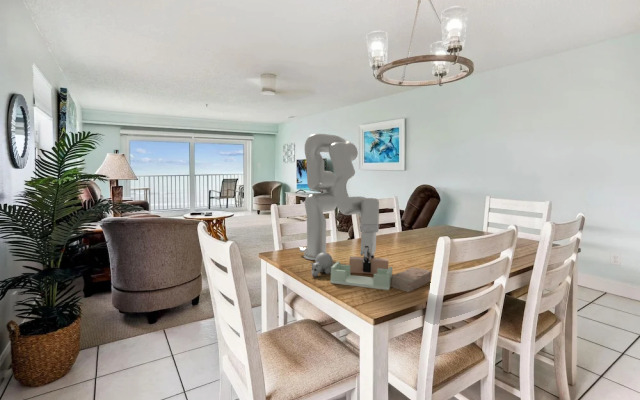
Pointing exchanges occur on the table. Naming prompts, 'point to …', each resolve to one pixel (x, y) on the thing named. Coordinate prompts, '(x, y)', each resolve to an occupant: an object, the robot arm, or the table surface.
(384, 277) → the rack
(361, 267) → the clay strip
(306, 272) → the table surface
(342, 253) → the table surface
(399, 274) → the brick
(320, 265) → the chubby cartoon animal
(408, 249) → the table surface
